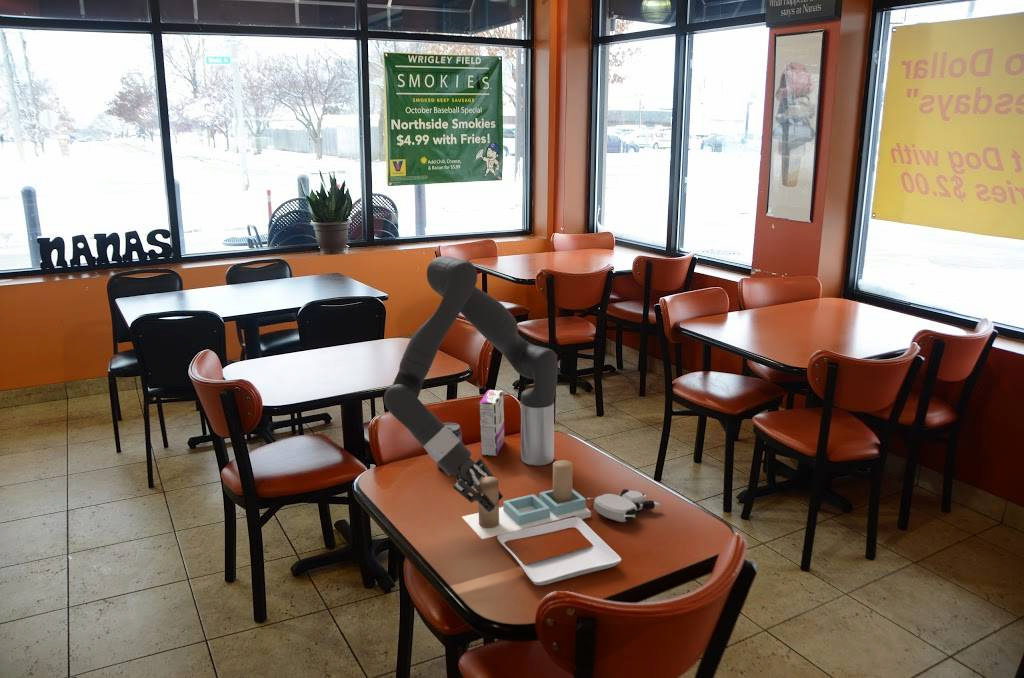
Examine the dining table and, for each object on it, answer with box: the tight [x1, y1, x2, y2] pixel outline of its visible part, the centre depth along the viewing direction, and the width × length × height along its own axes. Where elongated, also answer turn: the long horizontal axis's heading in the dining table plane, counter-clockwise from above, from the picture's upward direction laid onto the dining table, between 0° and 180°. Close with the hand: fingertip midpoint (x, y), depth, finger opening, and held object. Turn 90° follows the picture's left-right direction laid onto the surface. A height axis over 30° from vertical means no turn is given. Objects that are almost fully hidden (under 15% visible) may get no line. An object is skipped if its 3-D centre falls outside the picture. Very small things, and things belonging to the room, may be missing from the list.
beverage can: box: [436, 422, 463, 470], centre depth 226 cm, size 7×7×12 cm
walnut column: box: [477, 475, 500, 528], centre depth 191 cm, size 5×5×11 cm
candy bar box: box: [478, 389, 506, 457], centre depth 237 cm, size 11×5×16 cm, turn 168°
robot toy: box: [586, 488, 661, 523], centre depth 200 cm, size 12×4×15 cm
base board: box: [461, 459, 592, 540], centre depth 196 cm, size 12×29×12 cm, turn 116°
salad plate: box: [496, 516, 622, 586], centre depth 180 cm, size 21×21×3 cm
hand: (496, 503), depth 191 cm, fingers closed on walnut column, 4 cm apart
